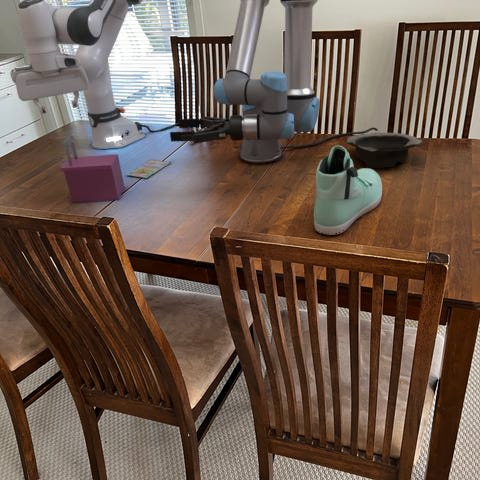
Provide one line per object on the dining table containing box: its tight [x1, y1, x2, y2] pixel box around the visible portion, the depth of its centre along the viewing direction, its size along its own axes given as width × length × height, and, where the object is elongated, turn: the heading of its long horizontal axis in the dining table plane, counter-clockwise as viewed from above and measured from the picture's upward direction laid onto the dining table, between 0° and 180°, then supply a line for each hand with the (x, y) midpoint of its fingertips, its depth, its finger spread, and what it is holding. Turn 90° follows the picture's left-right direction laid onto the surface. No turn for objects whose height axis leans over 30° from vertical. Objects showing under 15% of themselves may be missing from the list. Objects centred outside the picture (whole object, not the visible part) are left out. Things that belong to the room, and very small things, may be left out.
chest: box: [63, 157, 126, 203], centre depth 156 cm, size 15×9×11 cm, turn 89°
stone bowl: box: [346, 132, 423, 169], centre depth 166 cm, size 25×25×9 cm
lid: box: [59, 134, 119, 173], centre depth 151 cm, size 16×9×9 cm, turn 89°
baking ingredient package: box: [126, 159, 170, 179], centre depth 174 cm, size 9×1×15 cm
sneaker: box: [313, 145, 383, 236], centre depth 133 cm, size 14×35×20 cm, turn 152°
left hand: (59, 110), depth 144 cm, fingers open, 8 cm apart
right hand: (174, 130), depth 148 cm, fingers open, 13 cm apart
